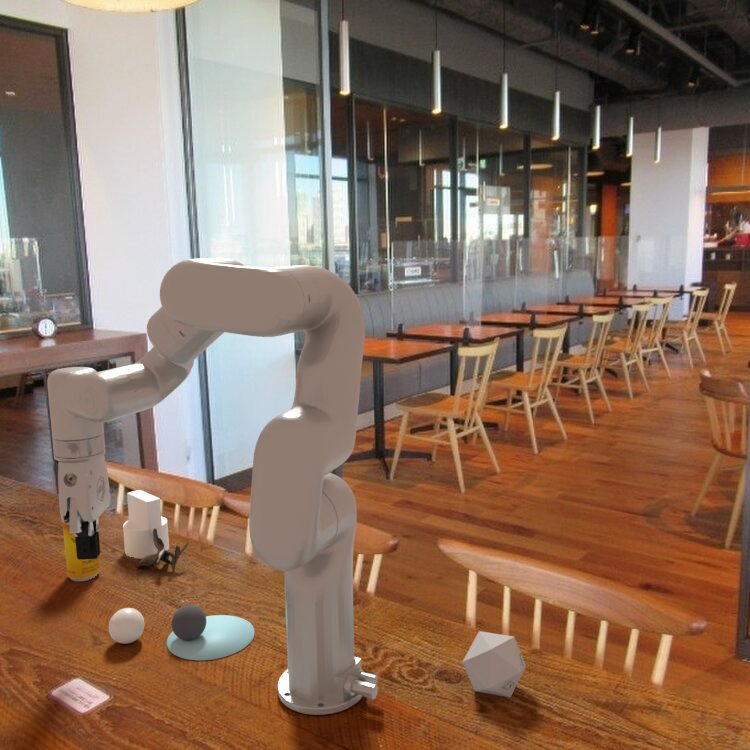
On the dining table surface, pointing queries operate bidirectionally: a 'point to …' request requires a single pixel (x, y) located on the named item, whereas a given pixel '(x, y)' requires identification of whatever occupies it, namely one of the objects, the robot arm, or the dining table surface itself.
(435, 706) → the dining table surface
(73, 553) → the beer can
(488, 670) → the die
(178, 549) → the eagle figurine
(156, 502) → the base with upright slab
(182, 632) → the object ball
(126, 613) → the cue ball
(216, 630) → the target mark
